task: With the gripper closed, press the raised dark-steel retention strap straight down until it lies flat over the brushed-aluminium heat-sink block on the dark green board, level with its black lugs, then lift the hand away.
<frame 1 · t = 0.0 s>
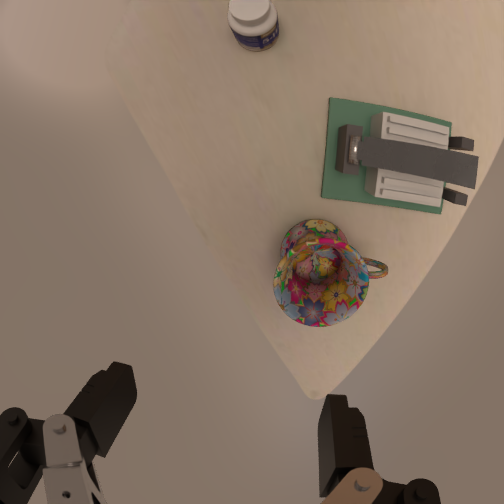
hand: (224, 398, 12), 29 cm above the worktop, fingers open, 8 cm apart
pill bottle: (257, 33, 32), on the worktop
mug: (324, 249, 40), on the worktop
strap: (411, 158, 25), point 11 cm above the worktop, hinge at 35.0°
heatsink base: (389, 156, 35), on the worktop
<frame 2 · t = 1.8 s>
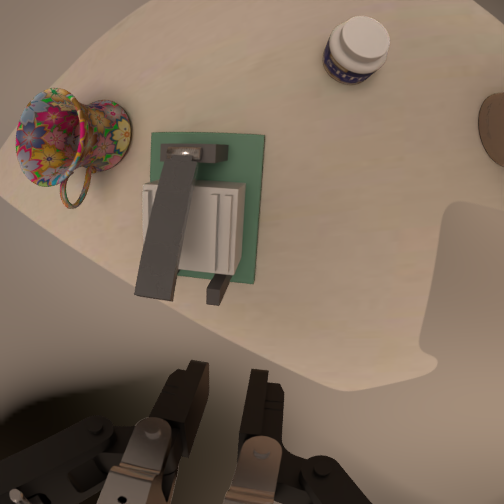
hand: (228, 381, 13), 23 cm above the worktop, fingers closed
pill bottle: (347, 62, 28), on the worktop
mug: (105, 146, 33), on the worktop
strap: (168, 216, 24), point 11 cm above the worktop, hinge at 35.0°
heatsink base: (204, 206, 34), on the worktop
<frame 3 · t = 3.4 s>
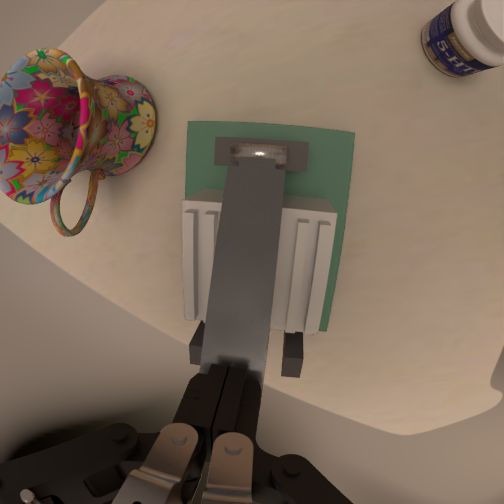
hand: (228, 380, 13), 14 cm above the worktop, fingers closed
pill bottle: (447, 49, 18), on the worktop
mug: (117, 140, 24), on the worktop
strap: (245, 266, 14), point 11 cm above the worktop, hinge at 31.8°, touching gripper
heatsink base: (263, 229, 25), on the worktop
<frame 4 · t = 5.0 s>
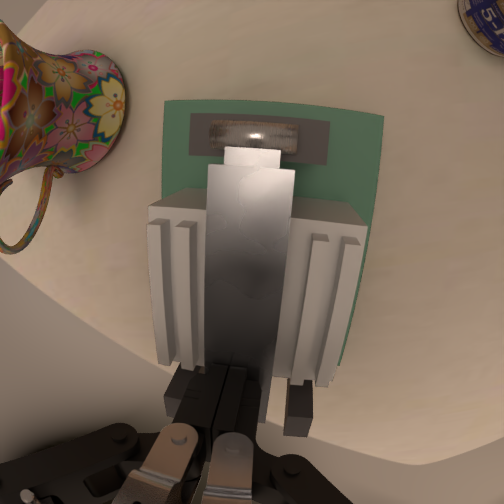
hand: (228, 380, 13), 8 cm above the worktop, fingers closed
pill bottle: (487, 23, 12), on the worktop
mug: (83, 129, 18), on the worktop
strap: (243, 298, 12), point 8 cm above the worktop, hinge at 2.5°, touching gripper
heatsink base: (263, 240, 19), on the worktop
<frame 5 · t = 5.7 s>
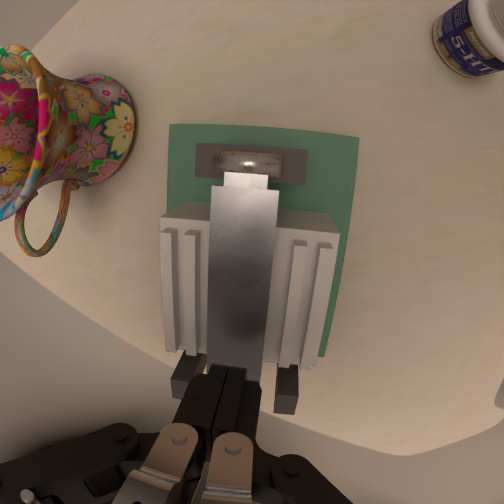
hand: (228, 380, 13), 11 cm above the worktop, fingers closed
pill bottle: (459, 46, 16), on the worktop
mug: (95, 146, 21), on the worktop
strap: (238, 291, 15), point 8 cm above the worktop, hinge at 2.5°
heatsink base: (255, 246, 22), on the worktop
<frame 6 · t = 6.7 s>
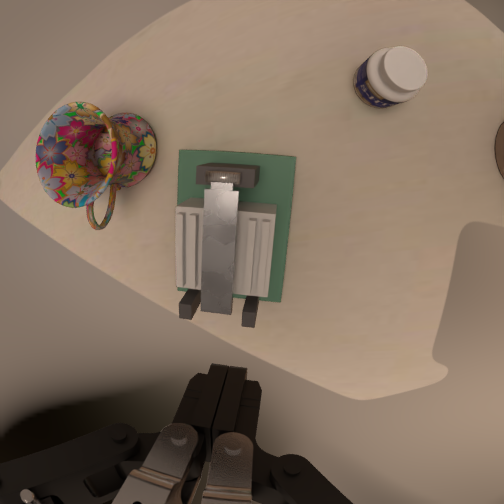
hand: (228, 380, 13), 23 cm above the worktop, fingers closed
pill bottle: (376, 85, 28), on the worktop
mug: (128, 161, 33), on the worktop
strap: (219, 245, 27), point 8 cm above the worktop, hinge at 2.5°
heatsink base: (232, 226, 35), on the worktop
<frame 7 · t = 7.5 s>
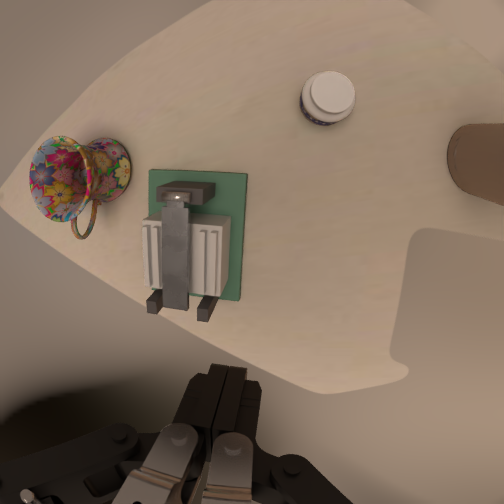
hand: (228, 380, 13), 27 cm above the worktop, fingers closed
pill bottle: (322, 104, 33), on the worktop
mug: (108, 179, 39), on the worktop
strap: (175, 252, 32), point 8 cm above the worktop, hinge at 2.5°
heatsink base: (195, 234, 40), on the worktop
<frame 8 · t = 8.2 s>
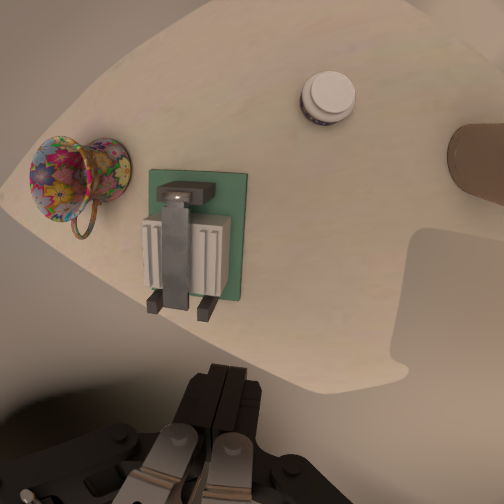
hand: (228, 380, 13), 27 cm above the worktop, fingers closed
pill bottle: (322, 104, 33), on the worktop
mug: (108, 179, 39), on the worktop
strap: (175, 252, 32), point 8 cm above the worktop, hinge at 2.5°
heatsink base: (196, 234, 40), on the worktop
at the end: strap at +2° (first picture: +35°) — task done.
